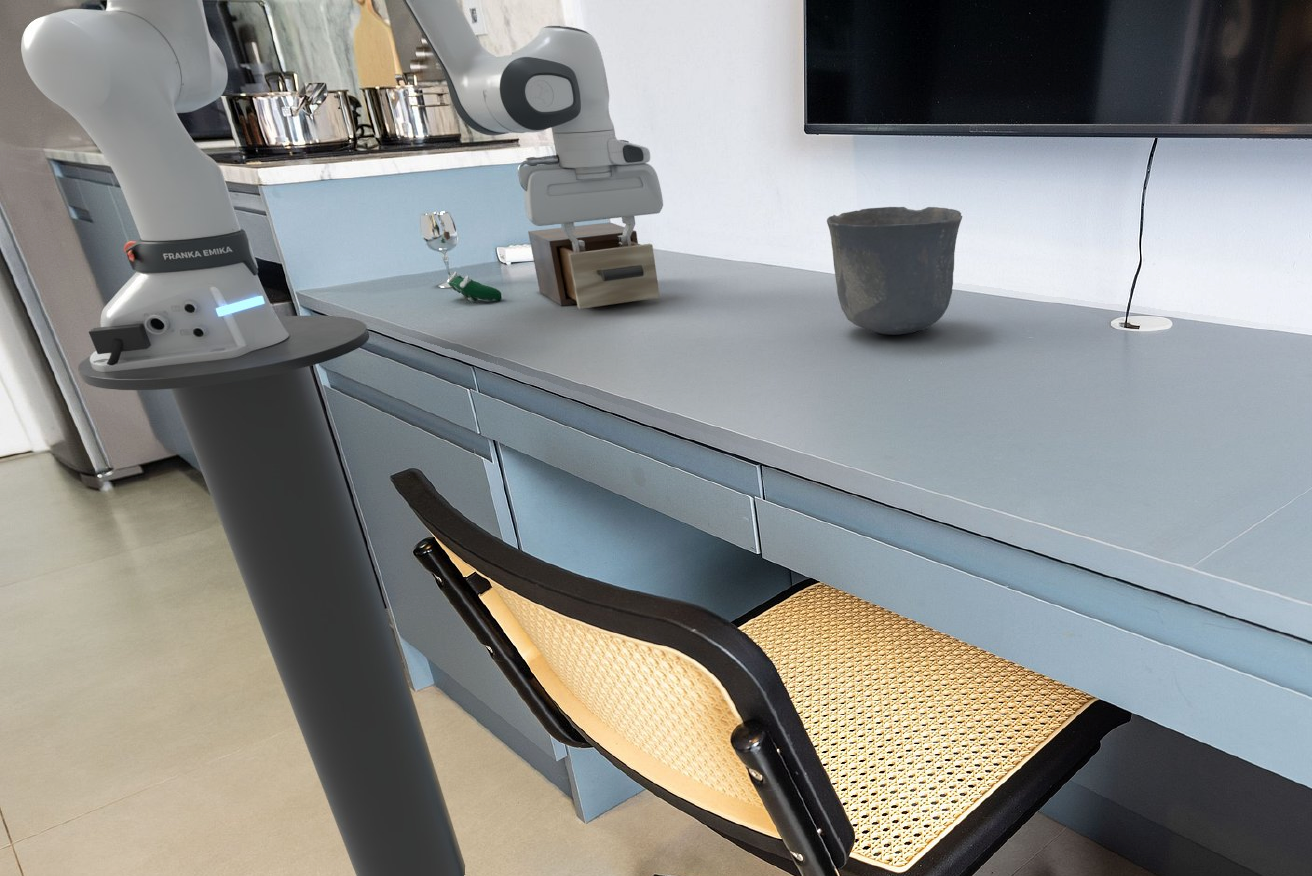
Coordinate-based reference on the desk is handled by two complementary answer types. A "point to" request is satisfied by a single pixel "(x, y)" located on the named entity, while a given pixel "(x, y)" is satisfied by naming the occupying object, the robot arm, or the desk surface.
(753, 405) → the desk surface
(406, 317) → the desk surface
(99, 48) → the robot arm
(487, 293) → the green elongated toy
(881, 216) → the cup
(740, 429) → the desk surface
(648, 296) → the drawer
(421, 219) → the wineglass
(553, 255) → the cabinet
